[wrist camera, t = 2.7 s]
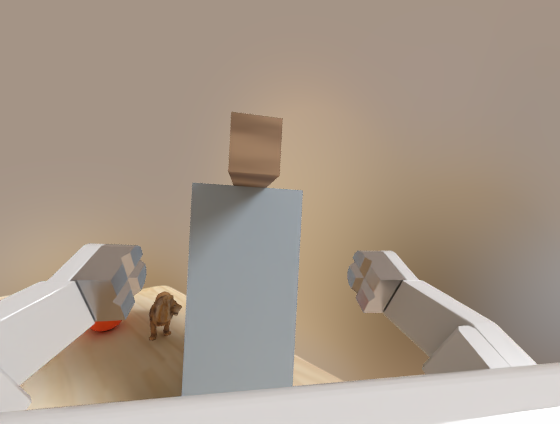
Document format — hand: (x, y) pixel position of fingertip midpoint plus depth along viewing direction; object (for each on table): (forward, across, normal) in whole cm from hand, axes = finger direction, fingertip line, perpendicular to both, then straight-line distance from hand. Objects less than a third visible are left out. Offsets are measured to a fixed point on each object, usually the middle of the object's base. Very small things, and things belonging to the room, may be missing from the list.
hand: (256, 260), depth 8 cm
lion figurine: (+23, +16, +42) cm, 50 cm away
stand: (+7, 0, +32) cm, 33 cm away
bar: (+17, 0, +5) cm, 18 cm away
